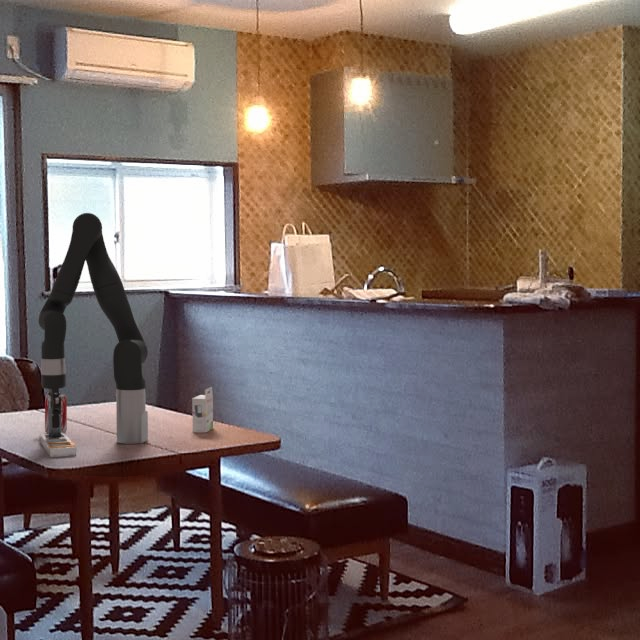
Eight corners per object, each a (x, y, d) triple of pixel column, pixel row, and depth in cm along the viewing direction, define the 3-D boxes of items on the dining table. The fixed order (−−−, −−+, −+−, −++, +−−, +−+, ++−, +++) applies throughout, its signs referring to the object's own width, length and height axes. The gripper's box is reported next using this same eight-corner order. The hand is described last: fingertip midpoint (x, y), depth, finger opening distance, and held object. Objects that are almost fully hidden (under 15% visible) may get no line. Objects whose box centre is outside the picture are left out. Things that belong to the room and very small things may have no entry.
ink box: (199, 428, 349) (199, 385, 348) (213, 428, 348) (213, 386, 347) (191, 432, 340) (191, 389, 339) (205, 433, 339) (205, 389, 338)
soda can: (45, 431, 340) (44, 393, 339) (67, 431, 342) (66, 393, 341) (44, 435, 333) (44, 396, 332) (66, 434, 335) (66, 396, 334)
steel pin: (63, 435, 320) (62, 407, 319) (58, 437, 316) (57, 409, 315) (51, 435, 320) (50, 407, 320) (46, 437, 316) (45, 409, 316)
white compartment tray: (40, 441, 322) (40, 433, 322) (64, 440, 325) (64, 431, 325) (50, 457, 298) (50, 448, 298) (76, 455, 301) (76, 446, 300)
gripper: (69, 374, 312) (70, 429, 313) (62, 369, 325) (63, 422, 326) (44, 375, 309) (45, 430, 310) (38, 370, 322) (39, 424, 323)
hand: (54, 426), depth 318 cm, fingers closed on steel pin, 4 cm apart
